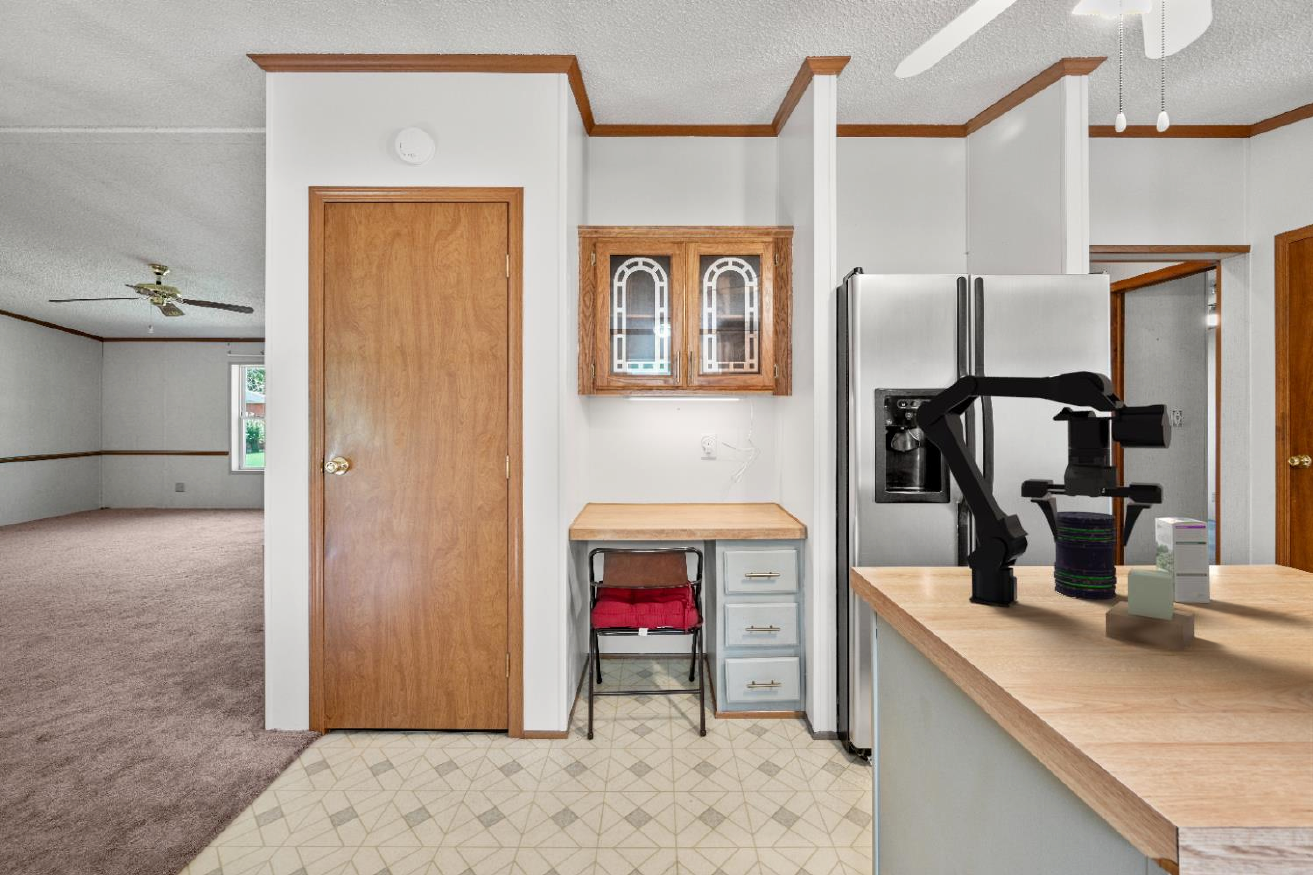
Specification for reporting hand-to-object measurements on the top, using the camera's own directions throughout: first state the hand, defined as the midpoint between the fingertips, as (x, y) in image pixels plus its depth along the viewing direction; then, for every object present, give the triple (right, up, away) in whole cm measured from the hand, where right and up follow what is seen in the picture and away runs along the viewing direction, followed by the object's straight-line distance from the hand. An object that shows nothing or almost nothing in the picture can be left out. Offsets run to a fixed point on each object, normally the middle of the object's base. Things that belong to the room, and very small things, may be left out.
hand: (1089, 543), depth 102 cm
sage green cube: (+3, -9, -9) cm, 13 cm away
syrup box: (+24, -12, +11) cm, 29 cm away
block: (+3, -13, -9) cm, 16 cm away
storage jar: (+10, -12, +16) cm, 22 cm away
